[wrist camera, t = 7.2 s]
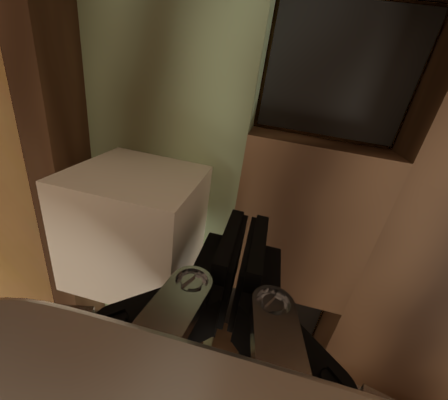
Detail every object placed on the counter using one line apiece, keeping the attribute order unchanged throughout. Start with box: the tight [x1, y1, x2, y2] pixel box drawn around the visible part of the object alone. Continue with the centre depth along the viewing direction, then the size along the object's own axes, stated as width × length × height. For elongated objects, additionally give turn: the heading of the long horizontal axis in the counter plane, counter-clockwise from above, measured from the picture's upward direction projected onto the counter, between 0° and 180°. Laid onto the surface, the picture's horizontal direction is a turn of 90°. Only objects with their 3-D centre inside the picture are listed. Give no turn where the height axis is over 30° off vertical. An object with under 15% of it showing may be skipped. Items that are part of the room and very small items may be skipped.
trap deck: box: [0, 0, 448, 400], centre depth 13 cm, size 26×24×5 cm
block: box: [36, 147, 213, 305], centre depth 12 cm, size 5×5×5 cm
